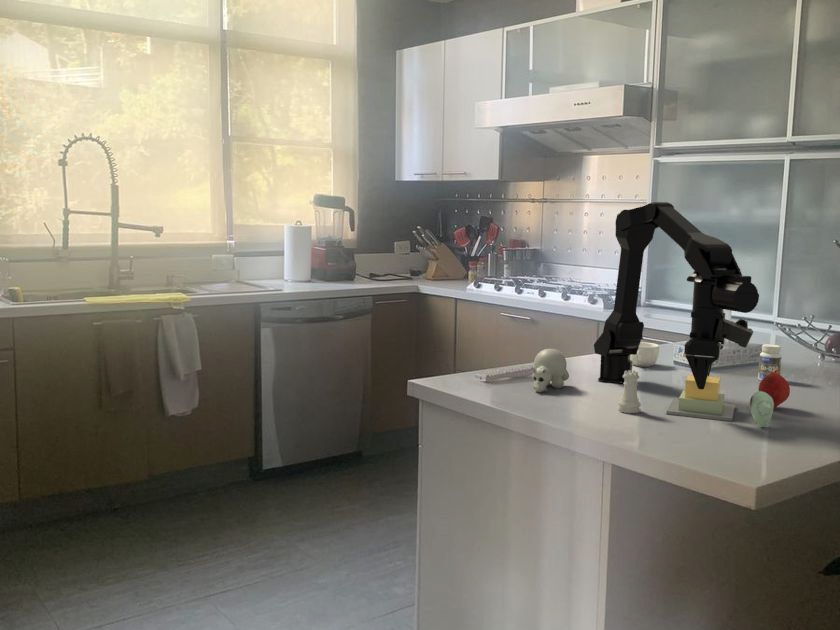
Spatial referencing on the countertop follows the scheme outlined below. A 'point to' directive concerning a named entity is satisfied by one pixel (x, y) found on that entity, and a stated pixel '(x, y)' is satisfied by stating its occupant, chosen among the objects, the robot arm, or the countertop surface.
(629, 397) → the rook chess piece
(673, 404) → the baseplate
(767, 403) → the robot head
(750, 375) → the countertop surface
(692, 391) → the ochre brick
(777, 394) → the onion
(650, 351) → the teacup
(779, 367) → the pill bottle
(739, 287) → the robot arm
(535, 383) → the cream plastic animal figure
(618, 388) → the countertop surface
